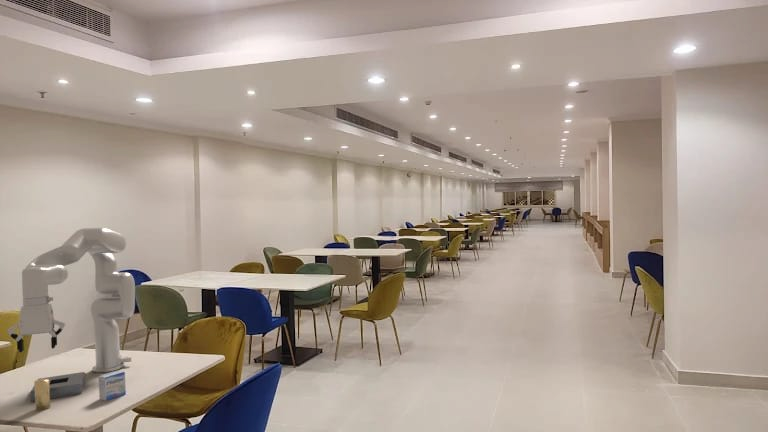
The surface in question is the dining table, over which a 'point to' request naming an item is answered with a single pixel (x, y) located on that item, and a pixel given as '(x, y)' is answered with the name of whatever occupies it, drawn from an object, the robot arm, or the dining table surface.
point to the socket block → (64, 385)
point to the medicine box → (112, 385)
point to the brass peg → (42, 394)
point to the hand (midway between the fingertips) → (37, 349)
